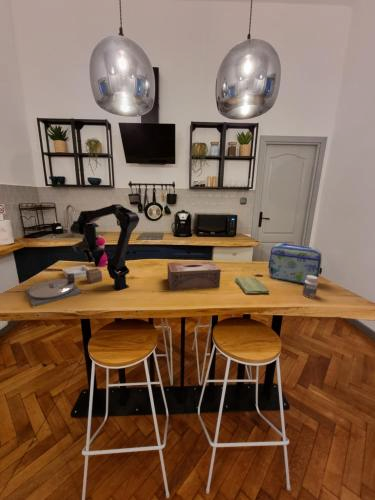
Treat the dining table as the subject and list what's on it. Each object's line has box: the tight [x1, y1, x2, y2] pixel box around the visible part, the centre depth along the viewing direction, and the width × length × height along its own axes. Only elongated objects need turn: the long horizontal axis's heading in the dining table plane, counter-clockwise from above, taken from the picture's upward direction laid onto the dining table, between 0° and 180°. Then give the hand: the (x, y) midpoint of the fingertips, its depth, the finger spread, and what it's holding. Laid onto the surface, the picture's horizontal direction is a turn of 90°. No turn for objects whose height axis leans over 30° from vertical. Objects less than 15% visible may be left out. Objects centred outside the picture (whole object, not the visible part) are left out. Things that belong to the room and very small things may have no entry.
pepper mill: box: [97, 235, 108, 268], centre depth 136 cm, size 7×7×20 cm
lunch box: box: [267, 242, 322, 285], centre depth 120 cm, size 26×11×21 cm, turn 57°
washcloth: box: [234, 276, 270, 295], centre depth 112 cm, size 13×18×3 cm
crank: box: [29, 273, 76, 299], centre depth 99 cm, size 18×18×6 cm
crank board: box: [25, 284, 83, 307], centre depth 100 cm, size 19×19×1 cm
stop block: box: [85, 267, 103, 285], centre depth 114 cm, size 6×6×6 cm
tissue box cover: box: [167, 260, 222, 291], centre depth 114 cm, size 26×14×10 cm, turn 101°
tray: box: [62, 264, 91, 280], centre depth 122 cm, size 12×12×3 cm
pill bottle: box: [302, 275, 319, 299], centre depth 103 cm, size 6×6×10 cm
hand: (93, 264), depth 112 cm, fingers open, 9 cm apart
